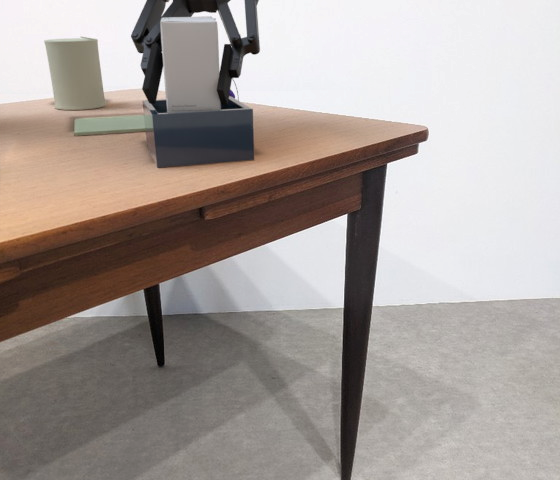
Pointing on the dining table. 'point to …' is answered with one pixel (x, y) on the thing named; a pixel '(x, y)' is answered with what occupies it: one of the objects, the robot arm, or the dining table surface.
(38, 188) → the dining table surface
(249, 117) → the box
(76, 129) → the mat
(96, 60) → the can
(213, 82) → the cosmetic box
